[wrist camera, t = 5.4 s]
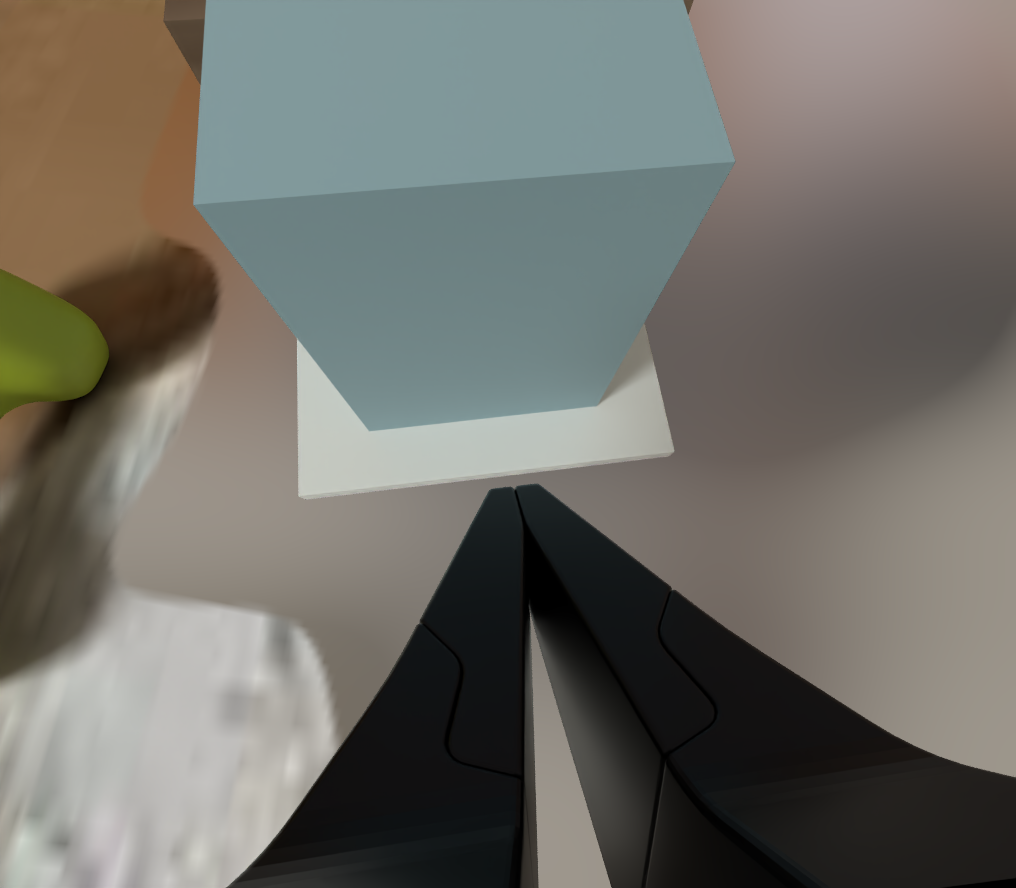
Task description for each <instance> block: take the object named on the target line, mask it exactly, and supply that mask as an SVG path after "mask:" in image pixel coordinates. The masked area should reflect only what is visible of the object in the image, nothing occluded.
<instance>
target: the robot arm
mask: <svg viewBox="0 0 1016 888" xmlns="http://www.w3.org/2000/svg"><path fill="white" fill-rule="evenodd" d="M529 608H530V609H529ZM530 613H531V617H532V621H533V625H534V629H535V632H536V635H537V639H538V642H539V645H540V649H541V652H542V656H543V659H544V662H545V666H546V669H547V672H548V676H549V679H550V682H551V686H552V689H553V693H554V696H555V699H556V703H557V706H558V709H559V713H560V716H561V719H562V723H563V726H564V729H565V732H566V736H567V739H568V743H569V746H570V750H571V753H572V756H573V760H574V763H575V766H576V770H577V773H578V776H579V780H580V783H581V787H582V790H583V793H584V797H585V800H586V803H587V807H588V810H589V813H590V817H591V820H592V823H593V827H594V830H595V833H596V837H597V840H598V843H599V847H600V850H601V853H602V857H603V860H604V863H605V867H606V870H607V874H608V877H609V880H610V884H611V887H612V888H1016V777H1011V776H1007V775H1003V774H999V773H995V772H990V771H986V770H982V769H978V768H974V767H970V766H966V765H963V764H960V763H957V762H954V761H951V760H948V759H945V758H942V757H939V756H936V755H934V754H932V753H930V752H927V751H925V750H923V749H920V748H918V747H916V746H913V745H912V744H910V743H908V742H906V741H904V740H902V739H900V738H898V737H896V736H894V735H892V734H891V733H889V732H887V731H886V730H884V729H882V728H881V727H879V726H877V725H876V724H874V723H872V722H871V721H869V720H867V719H865V718H864V717H863V716H861V715H860V714H858V713H856V712H855V711H853V710H852V709H850V708H849V707H847V706H846V705H844V704H842V703H841V702H839V701H838V700H836V699H835V698H833V697H831V696H830V695H828V694H827V693H825V692H824V691H822V690H821V689H819V688H817V687H816V686H814V685H813V684H811V683H810V682H808V681H806V680H805V679H803V678H801V677H800V676H799V675H797V674H795V673H794V672H792V671H791V670H789V669H788V668H786V667H785V666H783V665H781V664H780V663H778V662H777V661H775V660H774V659H772V658H770V657H769V656H767V655H766V654H764V653H763V652H761V651H760V650H758V649H757V648H755V647H754V646H752V645H751V644H749V643H748V642H746V641H745V640H743V639H742V638H740V637H739V636H737V635H736V634H734V633H733V632H731V631H730V630H728V629H727V628H725V627H724V626H723V625H721V624H720V623H718V622H717V621H716V620H715V619H713V618H712V617H710V616H709V615H708V614H706V613H705V612H704V611H702V610H701V609H700V608H698V607H697V606H696V605H694V604H693V603H692V602H690V601H689V600H688V599H687V598H685V597H684V596H682V595H681V594H680V593H679V592H677V591H676V590H672V588H671V586H669V585H668V584H667V583H666V582H664V581H663V580H662V579H660V578H659V577H658V576H657V575H655V574H654V573H653V572H651V571H650V570H648V568H646V567H645V566H644V565H642V564H641V563H640V562H638V561H637V560H636V559H635V558H633V557H632V556H631V555H629V554H628V553H627V552H626V551H624V550H623V549H622V548H621V547H619V546H618V545H617V544H615V543H614V542H613V541H612V540H610V539H609V538H608V537H606V536H605V535H604V534H602V533H601V532H600V531H599V530H597V529H596V528H595V527H593V526H592V525H591V524H590V523H588V522H587V521H586V520H584V519H583V518H582V517H580V516H579V515H578V514H577V513H575V512H574V511H573V510H572V509H570V508H569V507H568V506H566V505H565V504H564V503H563V502H561V501H560V500H559V499H557V498H556V497H555V496H554V495H552V494H551V493H550V492H548V491H547V490H546V489H544V488H543V487H542V486H541V485H539V484H530V485H521V486H517V487H516V488H515V490H514V489H513V488H512V487H503V488H495V489H491V490H489V492H488V494H487V495H486V497H485V499H484V501H483V503H482V505H481V507H480V508H479V510H478V512H477V514H476V516H475V518H474V520H473V522H472V524H471V525H470V527H469V529H468V531H467V533H466V535H465V536H464V539H463V540H462V542H461V544H460V546H459V548H458V550H457V551H456V553H455V555H454V557H453V559H452V561H451V563H450V565H449V567H448V569H447V570H446V572H445V574H444V576H443V578H442V580H441V581H440V583H439V585H438V587H437V589H436V591H435V593H434V595H433V596H432V598H431V600H430V602H429V604H428V606H427V608H426V609H425V611H424V613H423V615H422V617H421V619H420V624H418V625H417V626H416V628H415V630H414V631H413V634H412V635H411V637H410V639H409V641H408V643H407V645H406V647H405V648H404V650H403V652H402V653H401V655H400V657H399V658H398V660H397V662H396V664H395V665H394V667H393V669H392V671H391V672H390V674H389V676H388V677H387V679H386V680H385V682H384V684H383V685H382V686H381V688H380V690H379V691H378V693H377V694H376V695H375V697H374V699H373V700H372V701H371V703H370V704H369V706H368V707H367V709H366V710H365V712H364V713H363V715H362V716H361V718H360V719H359V720H358V722H357V723H356V725H355V726H354V728H353V729H352V730H351V732H350V733H349V735H348V736H347V738H346V739H345V740H344V742H343V743H342V745H341V746H340V747H339V749H338V750H337V752H336V753H335V755H334V756H333V757H332V759H331V760H330V762H329V763H328V764H327V766H326V767H325V769H324V770H323V772H322V773H321V774H320V776H319V777H318V779H317V780H316V782H315V783H314V784H313V786H312V787H311V789H310V790H309V792H308V793H307V794H306V796H305V797H304V799H303V800H302V801H301V803H300V804H299V806H298V807H297V809H296V810H295V811H294V813H293V814H292V816H291V817H290V818H289V820H288V821H287V822H286V824H285V825H284V827H283V828H282V829H281V831H280V832H279V833H278V834H277V835H276V837H275V838H274V839H273V840H272V841H271V843H270V844H269V845H268V846H267V847H266V849H265V850H264V851H263V852H262V853H261V854H260V855H259V856H258V857H257V858H256V860H255V861H254V862H253V863H252V864H251V865H250V866H249V867H248V868H247V869H246V870H245V871H244V872H243V873H242V874H241V875H240V876H239V877H238V878H236V879H235V880H234V881H233V882H232V883H231V884H230V885H229V886H228V887H226V888H538V858H537V824H536V792H535V758H534V725H533V689H532V656H531V626H530Z"/></svg>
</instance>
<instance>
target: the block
mask: <svg viewBox="0 0 1016 888" xmlns="http://www.w3.org/2000/svg"><path fill="white" fill-rule="evenodd" d="M199 107H200V108H199V123H198V138H197V155H196V171H195V187H194V188H195V189H194V206H195V207H196V209H197V210H198V211H199V213H200V214H201V215H202V216H203V218H204V219H205V220H206V222H207V223H208V224H209V225H210V227H211V228H212V229H213V231H214V232H215V233H216V234H217V236H218V237H219V238H220V240H221V241H222V242H223V243H224V245H225V246H226V247H227V249H228V250H229V251H230V252H231V254H232V255H233V256H234V258H235V259H236V260H237V262H238V263H239V264H240V265H241V266H242V268H243V269H244V271H245V272H246V273H247V274H248V276H249V277H250V278H251V280H252V281H253V282H254V283H255V285H256V286H257V287H258V289H259V290H260V291H261V293H262V294H263V295H264V296H265V298H266V299H267V300H268V301H269V303H270V304H271V305H272V307H273V308H274V309H275V310H276V312H277V313H278V314H279V316H280V317H281V318H282V320H283V321H284V322H285V323H286V325H287V326H288V327H289V329H290V330H291V331H292V332H293V334H294V335H295V336H296V338H297V339H298V340H299V342H300V343H301V344H302V345H303V347H304V348H305V349H306V351H307V352H308V353H309V354H310V356H311V357H312V358H313V360H314V361H315V362H316V363H317V365H318V366H319V367H320V369H321V370H322V371H323V372H324V374H325V375H326V376H327V378H328V379H329V380H330V381H331V383H332V384H333V385H334V387H335V388H336V389H337V390H338V392H339V393H340V394H341V396H342V397H343V398H344V400H345V401H346V402H347V403H348V405H349V406H350V407H351V409H352V410H353V411H354V412H355V414H356V415H357V416H358V418H359V419H360V420H361V421H362V423H363V424H364V425H365V427H366V428H367V429H368V430H369V431H377V430H386V429H395V428H404V427H413V426H422V425H431V424H440V423H449V422H458V421H467V420H476V419H485V418H494V417H503V416H512V415H521V414H530V413H539V412H548V411H557V410H566V409H575V408H584V407H593V406H597V405H598V403H599V401H600V400H601V398H602V396H603V394H604V393H605V391H606V389H607V387H608V386H609V384H610V382H611V380H612V379H613V377H614V375H615V373H616V372H617V370H618V368H619V366H620V364H621V363H622V361H623V359H624V357H625V356H626V354H627V352H628V350H629V349H630V347H631V345H632V343H633V342H634V340H635V338H636V336H637V335H638V333H639V331H640V329H641V327H642V326H643V324H644V322H645V320H646V319H647V317H648V315H649V313H650V312H651V310H652V308H653V306H654V305H655V303H656V301H657V299H658V298H659V296H660V294H661V292H662V290H663V289H664V287H665V285H666V283H667V282H668V280H669V278H670V276H671V275H672V273H673V271H674V269H675V268H676V266H677V264H678V262H679V261H680V259H681V257H682V255H683V253H684V252H685V250H686V248H687V246H688V245H689V243H690V241H691V239H692V238H693V236H694V234H695V232H696V231H697V229H698V227H699V225H700V224H701V222H702V220H703V218H704V216H705V215H706V213H707V211H708V209H709V208H710V206H711V204H712V202H713V201H714V199H715V197H716V195H717V194H718V192H719V190H720V188H721V186H722V185H723V183H724V181H725V179H726V177H727V176H728V174H729V172H730V170H731V169H732V167H733V165H734V164H735V158H734V155H733V152H732V149H731V146H730V143H729V140H728V137H727V134H726V131H725V127H724V125H723V121H722V118H721V115H720V112H719V109H718V106H717V103H716V100H715V96H714V94H713V90H712V87H711V84H710V81H709V78H708V75H707V72H706V69H705V66H704V62H703V59H702V57H701V53H700V51H699V47H698V44H697V41H696V38H695V35H694V32H693V29H692V25H691V22H690V19H689V16H688V13H687V10H686V7H685V4H684V1H683V0H206V9H205V25H204V42H203V58H202V74H201V90H200V106H199Z"/></svg>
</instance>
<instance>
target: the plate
mask: <svg viewBox="0 0 1016 888" xmlns="http://www.w3.org/2000/svg"><path fill="white" fill-rule="evenodd" d="M297 373H298V374H297V379H298V486H299V497H301V498H303V499H305V500H306V499H315V498H323V497H331V496H340V495H348V494H357V493H365V492H373V491H382V490H390V489H399V488H407V487H416V486H424V485H432V484H441V483H449V482H457V481H466V480H475V479H483V478H491V477H499V476H508V475H517V474H525V473H533V472H541V471H550V470H558V469H567V468H575V467H584V466H592V465H600V464H609V463H617V462H626V461H634V460H643V459H651V458H659V457H667V456H670V455H671V454H672V453H674V452H675V451H674V447H673V442H672V438H671V434H670V430H669V425H668V421H667V417H666V412H665V408H664V404H663V399H662V395H661V391H660V387H659V382H658V378H657V374H656V369H655V365H654V361H653V356H652V352H651V348H650V343H649V339H648V335H647V330H646V326H645V322H644V324H643V326H642V327H641V329H640V331H639V333H638V335H637V336H636V338H635V340H634V342H633V343H632V345H631V347H630V349H629V350H628V352H627V354H626V356H625V357H624V359H623V361H622V363H621V364H620V366H619V368H618V370H617V372H616V373H615V375H614V377H613V379H612V380H611V382H610V384H609V386H608V387H607V389H606V391H605V393H604V394H603V396H602V398H601V400H600V401H599V403H598V405H597V406H593V407H584V408H575V409H566V410H557V411H548V412H539V413H530V414H521V415H512V416H503V417H494V418H485V419H476V420H467V421H458V422H449V423H440V424H431V425H422V426H413V427H404V428H395V429H386V430H377V431H369V430H368V429H367V428H366V427H365V425H364V424H363V423H362V421H361V420H360V419H359V418H358V416H357V415H356V414H355V412H354V411H353V410H352V409H351V407H350V406H349V405H348V403H347V402H346V401H345V400H344V398H343V397H342V396H341V394H340V393H339V392H338V390H337V389H336V388H335V387H334V385H333V384H332V383H331V381H330V380H329V379H328V378H327V376H326V375H325V374H324V372H323V371H322V370H321V369H320V367H319V366H318V365H317V363H316V362H315V361H314V360H313V358H312V357H311V356H310V354H309V353H308V352H307V351H306V349H305V348H304V347H303V345H302V344H301V343H300V342H299V340H298V339H297Z"/></svg>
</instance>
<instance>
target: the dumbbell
mask: <svg viewBox="0 0 1016 888" xmlns="http://www.w3.org/2000/svg"><path fill="white" fill-rule="evenodd" d="M108 358H109V348H108V345H107V343H106V341H105V339H104V337H103V335H102V333H101V332H100V330H99V328H98V326H97V325H96V324H95V322H94V321H93V320H92V319H91V318H90V317H88V316H87V315H86V314H85V313H84V312H82V311H81V310H80V309H78V308H76V307H75V306H73V305H72V304H70V303H68V302H67V301H65V300H63V299H61V298H59V297H57V296H55V295H53V294H51V293H49V292H47V291H45V290H43V289H41V288H39V287H37V286H35V285H33V284H31V283H29V282H27V281H25V280H23V279H21V278H19V277H17V276H15V275H13V274H11V273H9V272H6V271H4V270H2V269H0V419H1V418H2V417H3V416H4V415H5V414H6V413H8V412H9V411H11V410H12V409H14V408H16V407H19V406H21V405H24V404H28V403H33V402H44V401H65V400H72V399H76V398H79V397H82V396H84V395H86V394H88V393H89V392H90V391H91V390H93V388H94V387H95V386H96V384H97V383H98V381H99V379H100V377H101V375H102V373H103V371H104V369H105V367H106V364H107V362H108Z"/></svg>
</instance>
